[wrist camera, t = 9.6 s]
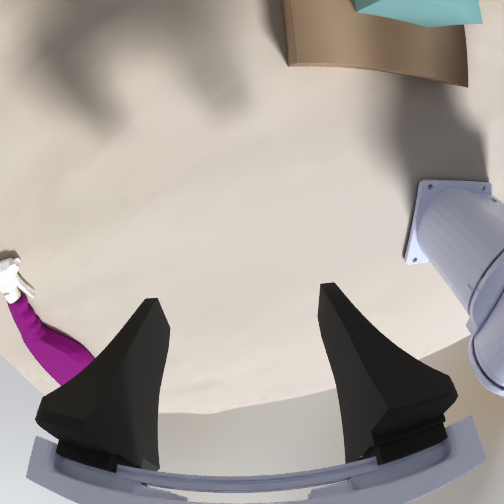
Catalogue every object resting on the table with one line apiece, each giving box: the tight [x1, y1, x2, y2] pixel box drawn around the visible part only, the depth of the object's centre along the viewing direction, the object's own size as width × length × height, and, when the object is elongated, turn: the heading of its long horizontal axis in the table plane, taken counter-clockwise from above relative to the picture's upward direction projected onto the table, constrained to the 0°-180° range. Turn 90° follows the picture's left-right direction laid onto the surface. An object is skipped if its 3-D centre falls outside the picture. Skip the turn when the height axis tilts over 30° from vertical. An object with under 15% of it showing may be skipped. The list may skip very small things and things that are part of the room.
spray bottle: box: [0, 258, 95, 386], centre depth 27 cm, size 3×11×24 cm
